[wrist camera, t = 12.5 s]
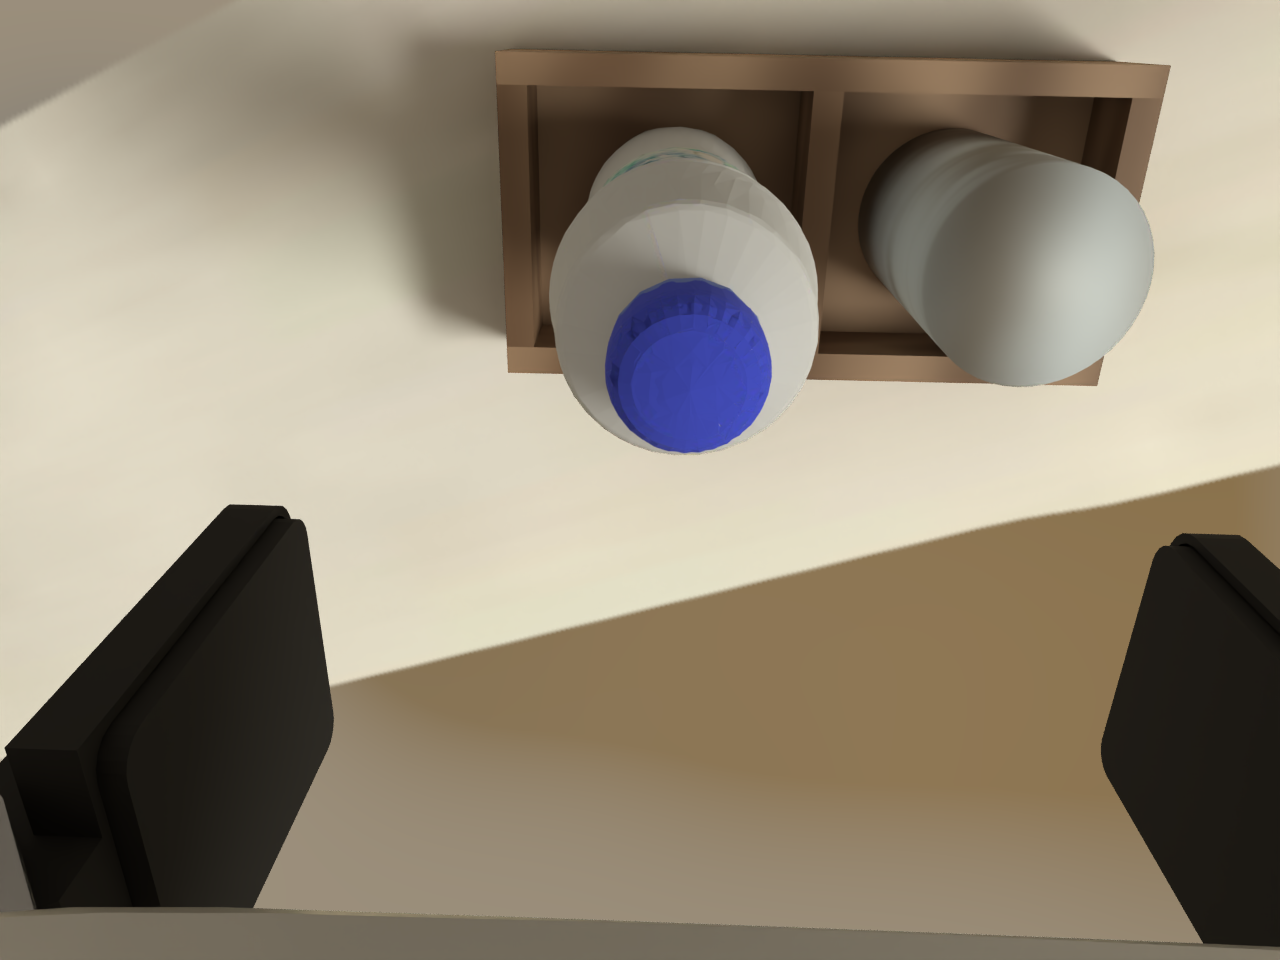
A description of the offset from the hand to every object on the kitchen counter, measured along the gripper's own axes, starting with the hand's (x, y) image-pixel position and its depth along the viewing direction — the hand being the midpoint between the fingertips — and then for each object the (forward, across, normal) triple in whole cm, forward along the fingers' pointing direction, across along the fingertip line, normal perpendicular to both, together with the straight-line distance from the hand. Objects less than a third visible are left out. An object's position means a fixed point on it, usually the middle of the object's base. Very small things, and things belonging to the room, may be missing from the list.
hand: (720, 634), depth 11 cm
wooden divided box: (+30, -4, 0) cm, 30 cm away
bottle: (+29, 0, 0) cm, 29 cm away
